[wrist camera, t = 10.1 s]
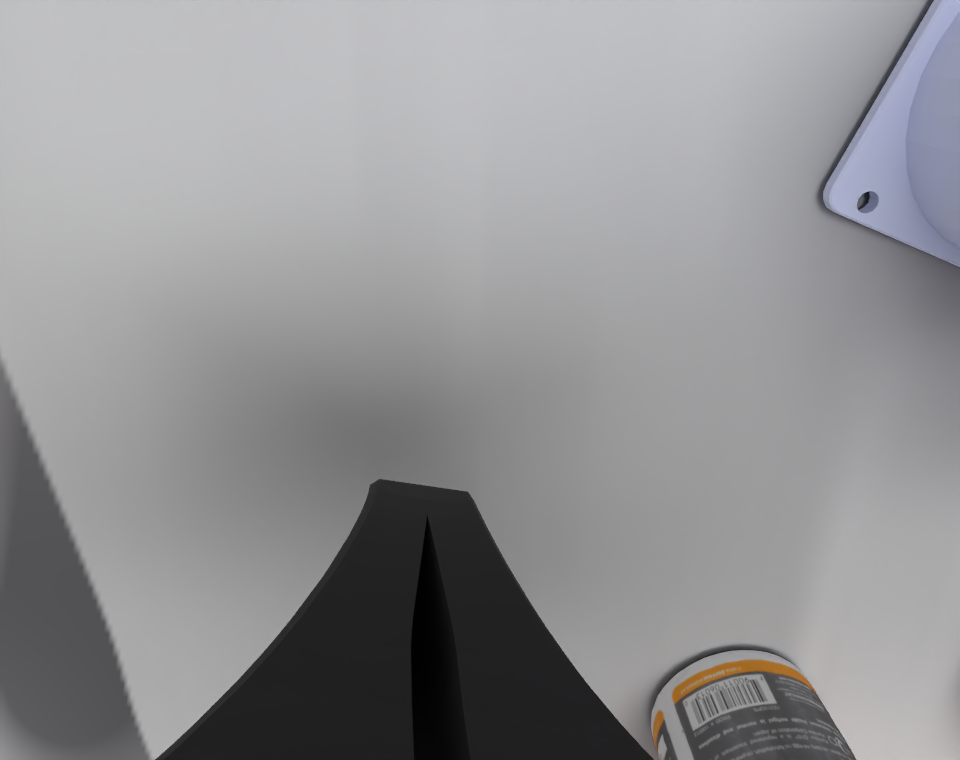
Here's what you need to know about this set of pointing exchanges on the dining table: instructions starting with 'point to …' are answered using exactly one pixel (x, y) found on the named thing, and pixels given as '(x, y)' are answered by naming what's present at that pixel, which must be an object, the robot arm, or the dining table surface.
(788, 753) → the pill bottle
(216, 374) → the dining table surface
